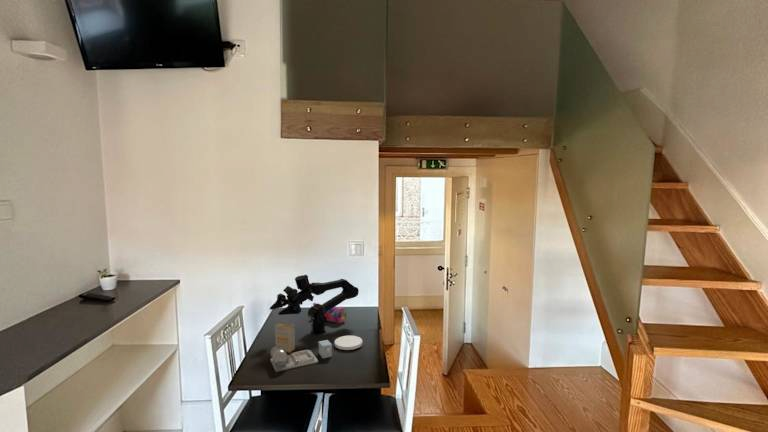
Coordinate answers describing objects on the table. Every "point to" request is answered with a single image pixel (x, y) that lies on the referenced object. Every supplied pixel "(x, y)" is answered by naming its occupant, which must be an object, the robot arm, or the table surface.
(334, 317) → the pencil case
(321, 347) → the grey block with cylinder
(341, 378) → the table surface
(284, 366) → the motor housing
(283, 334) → the supplement box
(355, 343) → the plastic lid
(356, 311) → the table surface
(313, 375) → the table surface
